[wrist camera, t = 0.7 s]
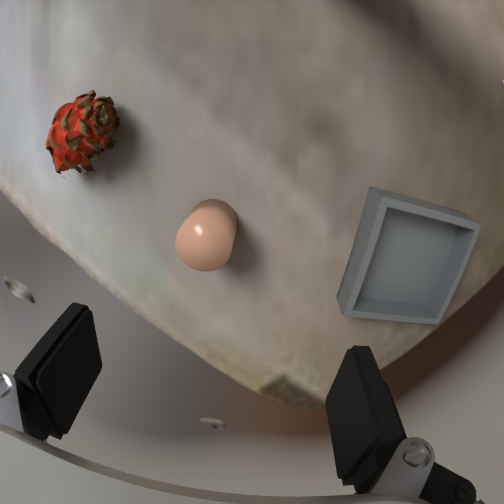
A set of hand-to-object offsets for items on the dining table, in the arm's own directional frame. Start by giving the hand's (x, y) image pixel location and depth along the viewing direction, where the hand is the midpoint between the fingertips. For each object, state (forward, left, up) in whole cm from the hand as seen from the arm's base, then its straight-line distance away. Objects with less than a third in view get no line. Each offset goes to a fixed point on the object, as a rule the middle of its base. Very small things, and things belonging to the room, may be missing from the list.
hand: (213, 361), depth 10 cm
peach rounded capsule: (+6, -4, -28) cm, 29 cm away
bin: (+6, +22, -28) cm, 36 cm away
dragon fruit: (-4, -21, -28) cm, 35 cm away
